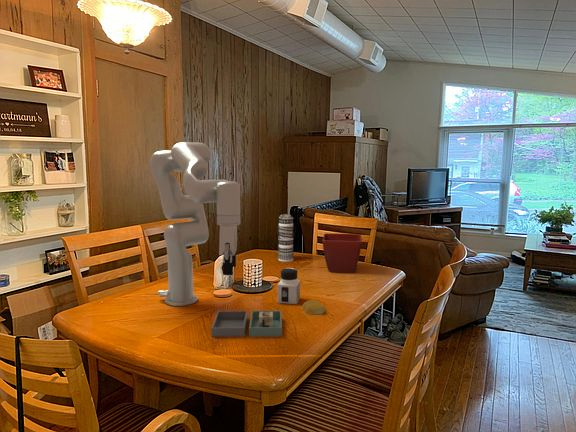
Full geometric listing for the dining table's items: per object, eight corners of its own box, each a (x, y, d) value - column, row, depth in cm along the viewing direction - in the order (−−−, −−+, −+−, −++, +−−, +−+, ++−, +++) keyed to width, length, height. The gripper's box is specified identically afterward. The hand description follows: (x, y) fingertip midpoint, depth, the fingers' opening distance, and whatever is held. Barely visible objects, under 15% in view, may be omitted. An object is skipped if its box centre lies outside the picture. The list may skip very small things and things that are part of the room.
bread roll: (308, 317, 158) (308, 307, 158) (299, 309, 167) (299, 299, 166) (329, 314, 161) (329, 304, 161) (319, 306, 170) (319, 296, 169)
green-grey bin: (249, 338, 140) (249, 327, 140) (251, 320, 155) (251, 310, 154) (281, 338, 140) (281, 327, 140) (281, 320, 155) (281, 310, 155)
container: (296, 304, 171) (296, 272, 169) (277, 303, 173) (277, 271, 171) (300, 298, 179) (300, 267, 177) (281, 296, 180) (281, 266, 178)
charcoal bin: (211, 338, 140) (211, 328, 139) (217, 320, 155) (217, 311, 154) (244, 338, 140) (244, 328, 140) (247, 320, 155) (247, 310, 154)
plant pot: (323, 263, 232) (324, 232, 230) (360, 265, 230) (361, 233, 227) (321, 273, 214) (322, 240, 211) (361, 275, 211) (362, 241, 209)
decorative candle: (276, 261, 237) (276, 215, 233) (279, 257, 246) (279, 213, 242) (292, 262, 236) (292, 216, 232) (295, 258, 245) (295, 213, 241)
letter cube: (259, 329, 145) (259, 316, 145) (259, 324, 150) (259, 311, 149) (272, 329, 145) (272, 316, 145) (272, 324, 150) (272, 311, 149)
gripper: (220, 215, 150) (221, 264, 153) (213, 224, 133) (214, 278, 136) (242, 215, 150) (242, 263, 153) (238, 224, 133) (238, 278, 136)
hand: (229, 270), depth 144 cm, fingers open, 9 cm apart
